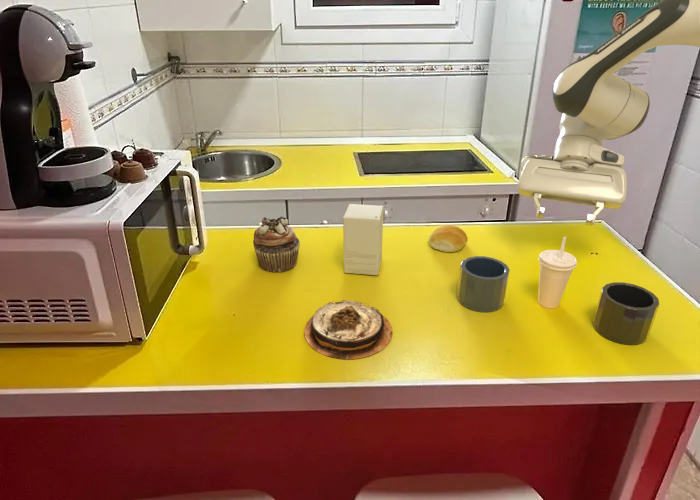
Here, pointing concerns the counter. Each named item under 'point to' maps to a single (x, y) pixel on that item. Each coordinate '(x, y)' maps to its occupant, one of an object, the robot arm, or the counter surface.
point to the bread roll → (448, 238)
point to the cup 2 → (625, 313)
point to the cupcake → (276, 245)
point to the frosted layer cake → (348, 330)
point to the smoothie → (554, 275)
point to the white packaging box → (363, 239)
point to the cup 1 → (482, 283)
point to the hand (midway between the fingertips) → (564, 220)
